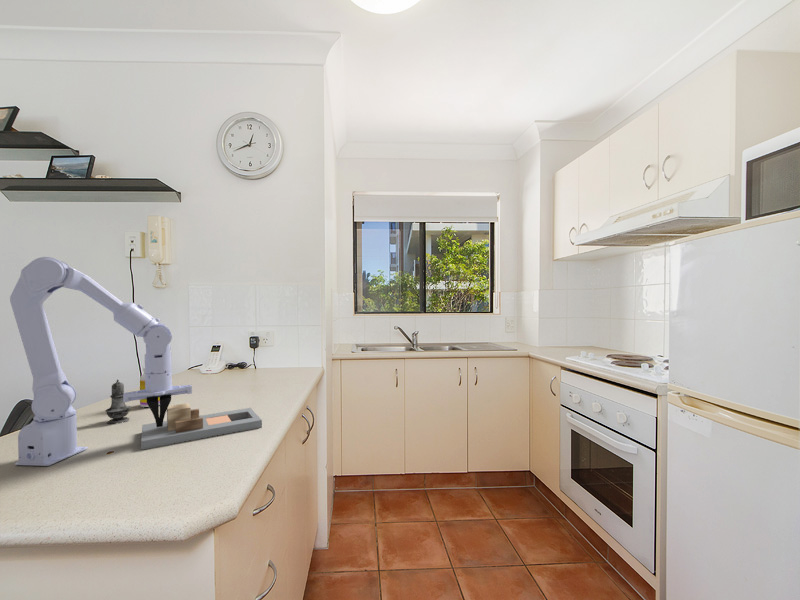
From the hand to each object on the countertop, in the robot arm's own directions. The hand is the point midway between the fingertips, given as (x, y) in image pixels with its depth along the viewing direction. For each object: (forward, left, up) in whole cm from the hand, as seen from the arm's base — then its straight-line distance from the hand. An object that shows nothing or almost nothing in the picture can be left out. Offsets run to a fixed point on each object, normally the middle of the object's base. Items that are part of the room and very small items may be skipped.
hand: (159, 425), depth 98 cm
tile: (+8, -11, -3) cm, 14 cm away
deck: (+6, -8, -3) cm, 10 cm away
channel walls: (+4, -5, -1) cm, 6 cm away
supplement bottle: (+28, +24, -3) cm, 37 cm away
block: (+3, -3, -1) cm, 4 cm away
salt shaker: (+12, +22, -3) cm, 25 cm away
